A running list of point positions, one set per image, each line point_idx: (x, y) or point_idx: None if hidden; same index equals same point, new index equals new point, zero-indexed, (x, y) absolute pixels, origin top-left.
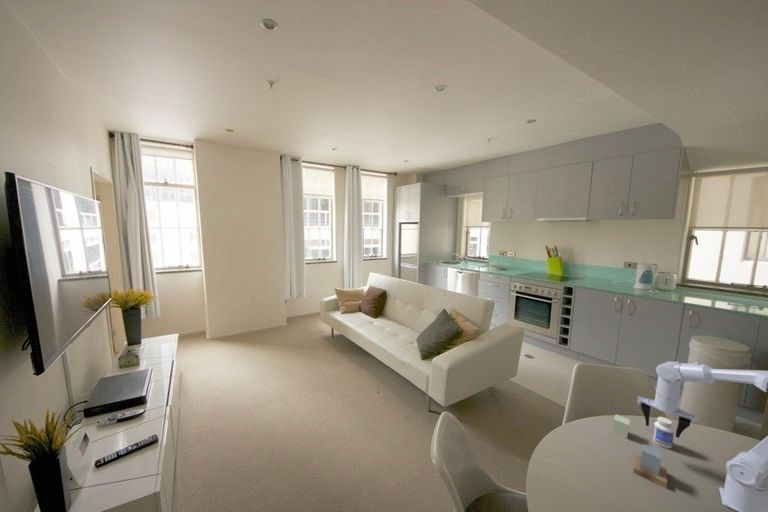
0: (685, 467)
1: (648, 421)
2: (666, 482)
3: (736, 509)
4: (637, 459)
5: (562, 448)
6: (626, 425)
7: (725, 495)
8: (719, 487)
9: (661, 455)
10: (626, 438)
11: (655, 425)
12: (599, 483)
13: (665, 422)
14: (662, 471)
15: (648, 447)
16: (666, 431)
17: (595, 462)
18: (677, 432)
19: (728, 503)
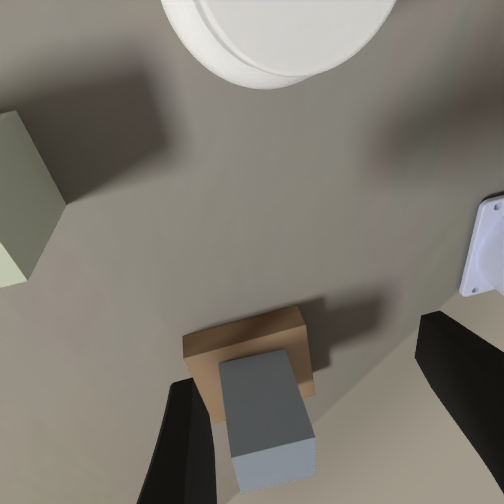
0: (369, 172)
1: (212, 491)
2: (312, 394)
3: (494, 288)
4: (205, 378)
5: (7, 499)
6: (14, 277)
7: (489, 279)
8: (483, 211)
9: (314, 458)
10: (61, 206)
11: (184, 43)
12: None
13: (321, 58)
14: (295, 356)
15: (255, 461)
16: (305, 78)
17: (113, 460)
18: (456, 421)
19: (480, 282)
